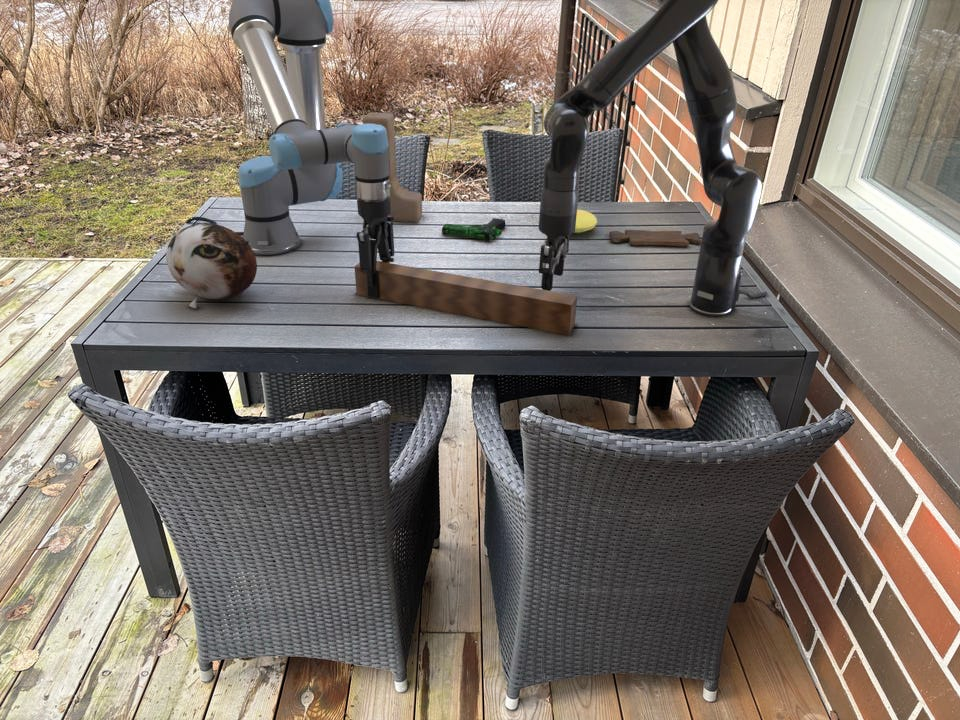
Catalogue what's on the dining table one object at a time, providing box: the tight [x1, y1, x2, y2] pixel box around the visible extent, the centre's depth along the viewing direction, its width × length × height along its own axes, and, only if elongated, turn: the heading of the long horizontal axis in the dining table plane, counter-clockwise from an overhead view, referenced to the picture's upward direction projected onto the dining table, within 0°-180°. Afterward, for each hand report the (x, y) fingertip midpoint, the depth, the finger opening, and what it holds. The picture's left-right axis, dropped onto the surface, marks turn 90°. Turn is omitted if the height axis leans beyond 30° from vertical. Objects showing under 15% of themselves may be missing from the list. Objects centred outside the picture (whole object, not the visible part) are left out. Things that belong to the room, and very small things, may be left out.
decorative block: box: [362, 111, 423, 223], centre depth 209 cm, size 8×15×30 cm, turn 82°
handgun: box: [441, 217, 506, 242], centre depth 207 cm, size 16×3×15 cm
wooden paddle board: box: [608, 229, 701, 247], centre depth 204 cm, size 26×2×10 cm
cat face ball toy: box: [165, 222, 258, 309], centre depth 165 cm, size 22×18×20 cm
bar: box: [353, 260, 578, 336], centre depth 163 cm, size 52×5×7 cm, turn 69°
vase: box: [573, 208, 598, 234], centre depth 209 cm, size 16×16×7 cm
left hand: (379, 291), depth 171 cm, fingers closed on bar, 5 cm apart
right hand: (552, 282), depth 153 cm, fingers open, 8 cm apart
